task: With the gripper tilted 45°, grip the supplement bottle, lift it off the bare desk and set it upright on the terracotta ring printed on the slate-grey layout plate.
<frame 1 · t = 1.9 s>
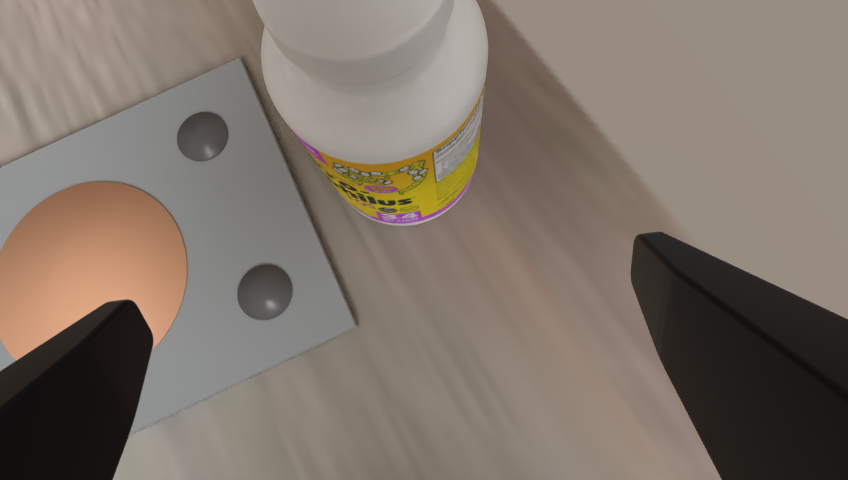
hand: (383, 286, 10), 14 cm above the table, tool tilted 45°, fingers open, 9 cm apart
layout plate: (138, 261, 24), on the table
supplement bottle: (405, 161, 25), on the table
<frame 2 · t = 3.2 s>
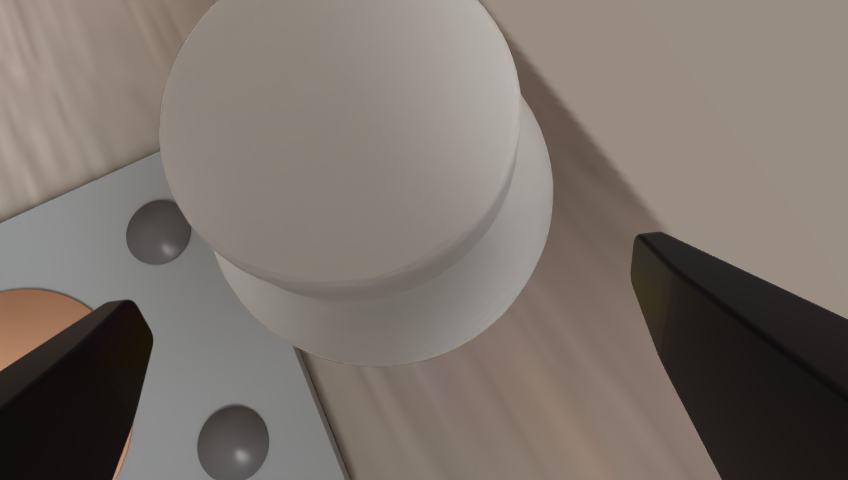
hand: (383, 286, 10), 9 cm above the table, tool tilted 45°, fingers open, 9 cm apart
layout plate: (74, 393, 19), on the table
supplement bottle: (416, 266, 19), on the table
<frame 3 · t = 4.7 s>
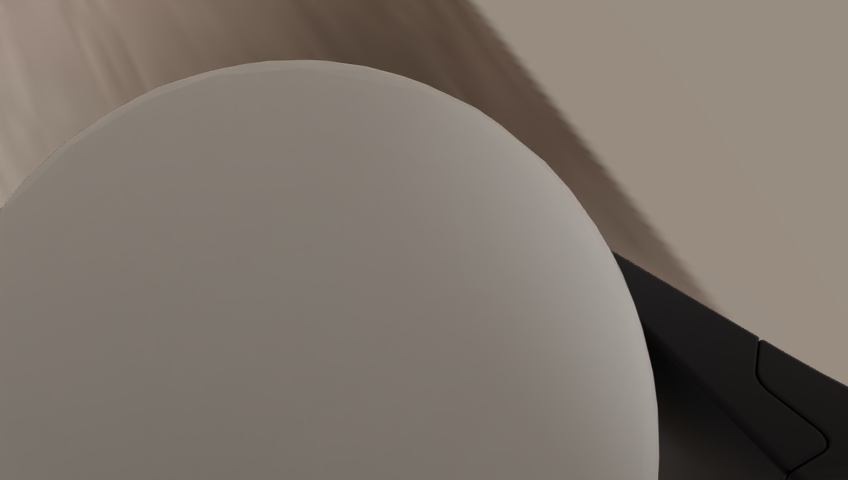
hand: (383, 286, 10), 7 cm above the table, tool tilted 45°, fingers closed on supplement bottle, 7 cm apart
supplement bottle: (419, 358, 16), on the table, touching gripper
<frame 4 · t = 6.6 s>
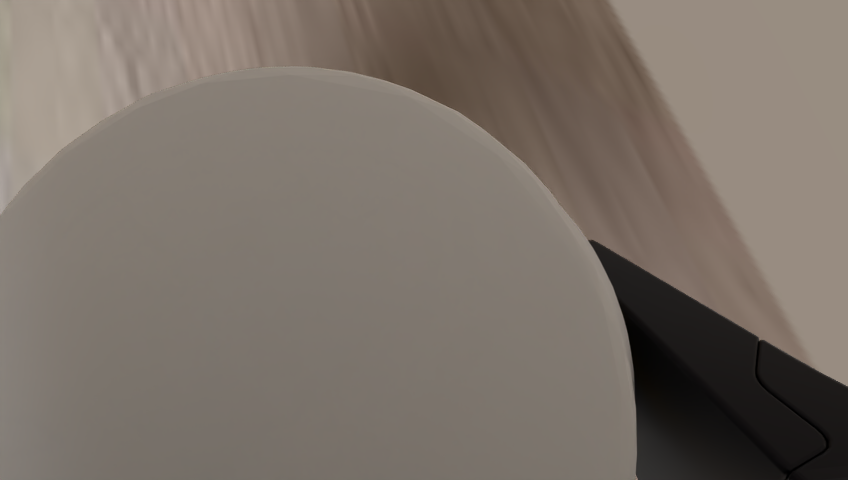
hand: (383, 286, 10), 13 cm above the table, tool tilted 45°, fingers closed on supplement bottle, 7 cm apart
supplement bottle: (426, 355, 16), point 6 cm above the table, touching gripper
when the fingers open (8 cm above the table, at t = 8.9 s): supplement bottle stays where it is, resting on layout plate.
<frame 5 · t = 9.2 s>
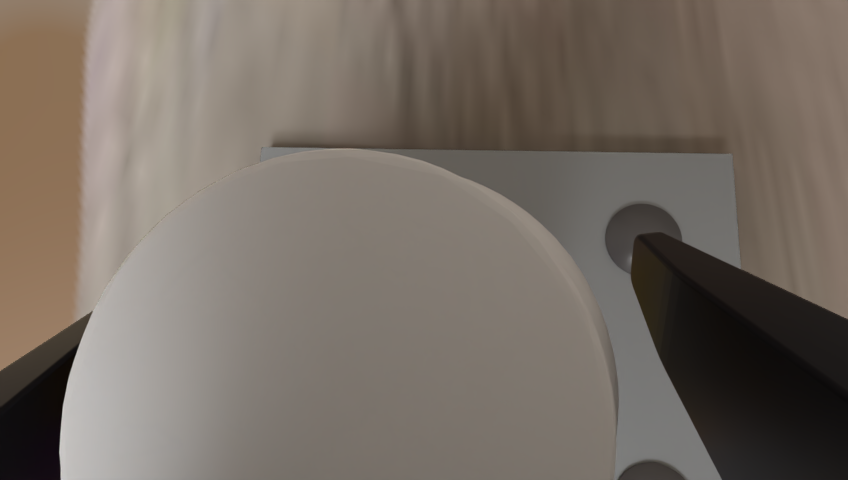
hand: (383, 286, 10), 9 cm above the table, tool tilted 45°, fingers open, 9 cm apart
layout plate: (484, 359, 17), on the table
supplement bottle: (428, 361, 17), point 1 cm above the table, touching layout plate
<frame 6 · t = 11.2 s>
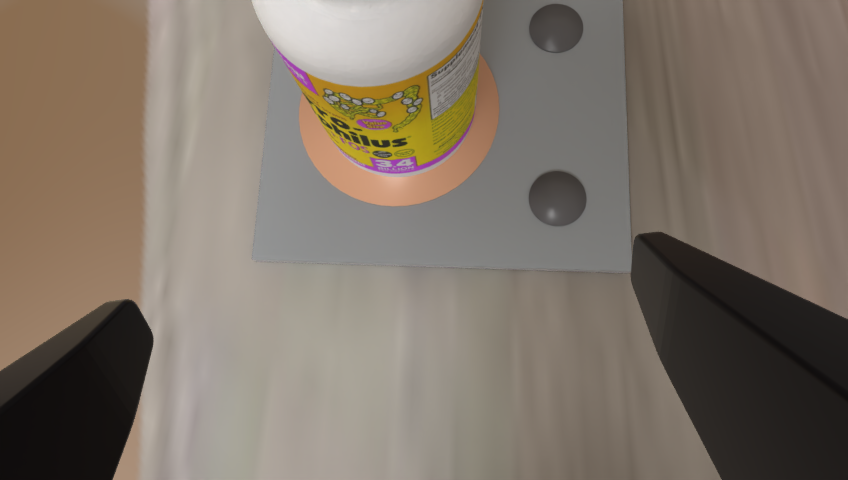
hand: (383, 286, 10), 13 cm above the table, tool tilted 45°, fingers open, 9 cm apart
layout plate: (443, 115, 24), on the table
supplement bottle: (401, 113, 24), resting on layout plate
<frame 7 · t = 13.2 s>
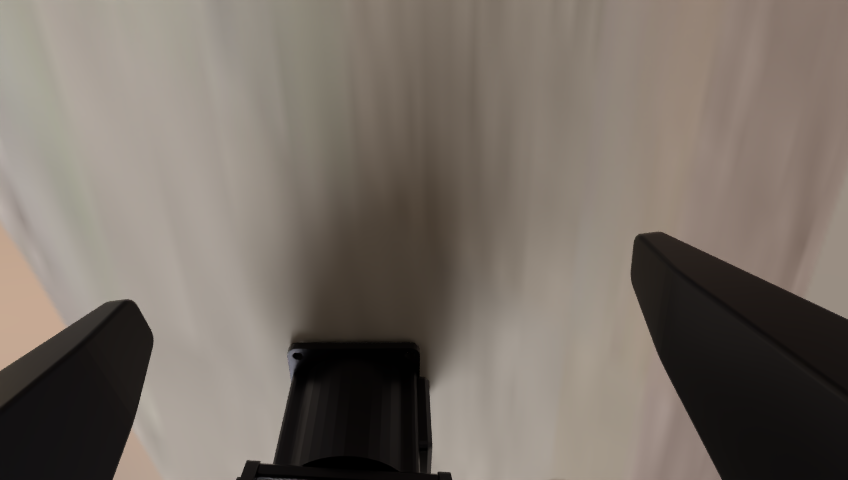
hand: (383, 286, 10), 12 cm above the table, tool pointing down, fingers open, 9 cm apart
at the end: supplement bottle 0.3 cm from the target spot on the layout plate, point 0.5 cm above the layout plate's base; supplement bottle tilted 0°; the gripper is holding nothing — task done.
